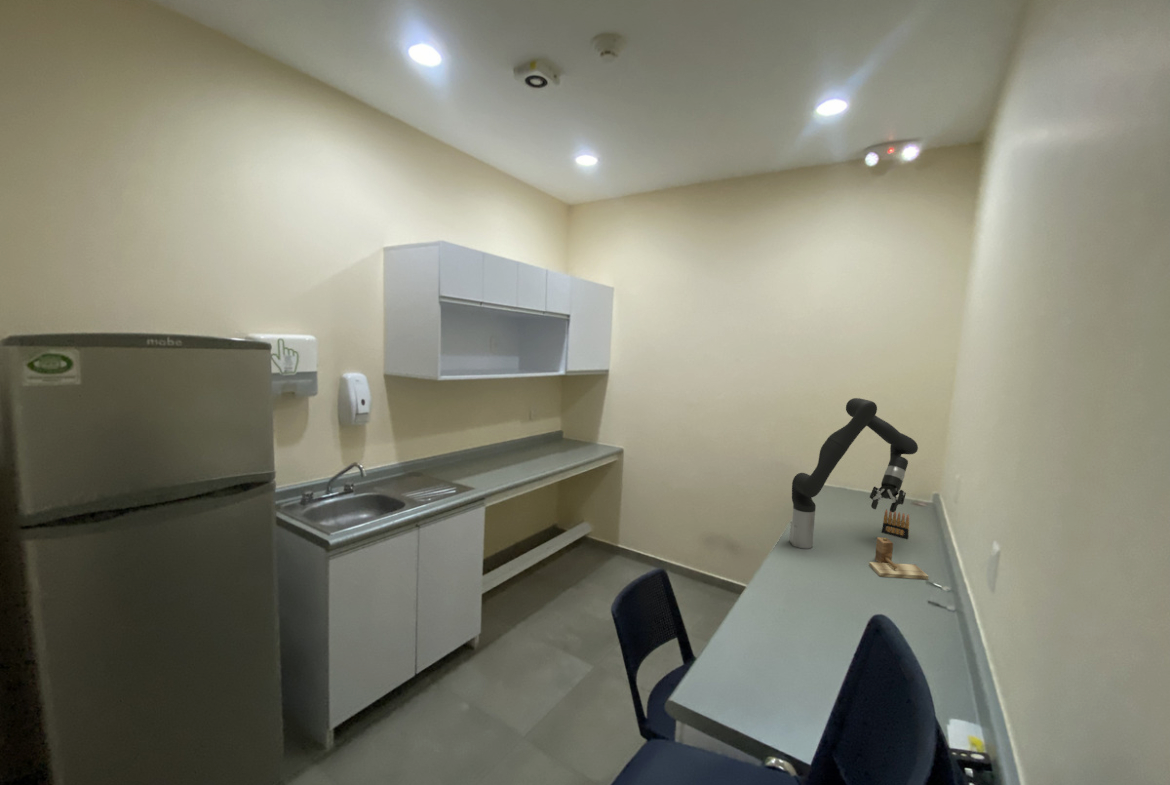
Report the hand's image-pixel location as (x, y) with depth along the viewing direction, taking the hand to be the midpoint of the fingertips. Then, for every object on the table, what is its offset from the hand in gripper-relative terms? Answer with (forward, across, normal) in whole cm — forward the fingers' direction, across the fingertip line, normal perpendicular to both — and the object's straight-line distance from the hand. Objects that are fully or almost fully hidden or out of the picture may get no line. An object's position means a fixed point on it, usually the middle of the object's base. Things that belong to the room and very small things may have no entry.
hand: (882, 510), depth 210 cm
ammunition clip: (+2, -10, +26) cm, 28 cm away
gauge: (+24, +9, +1) cm, 26 cm away
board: (+25, +14, +2) cm, 28 cm away
